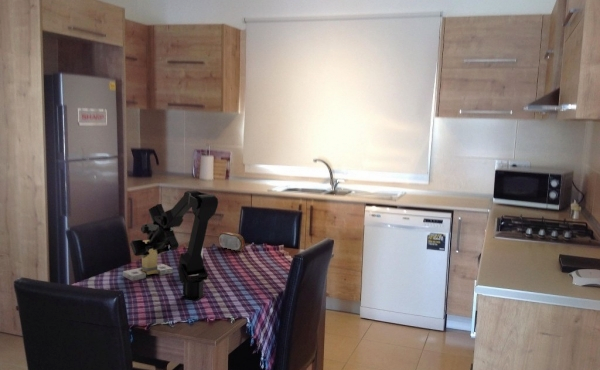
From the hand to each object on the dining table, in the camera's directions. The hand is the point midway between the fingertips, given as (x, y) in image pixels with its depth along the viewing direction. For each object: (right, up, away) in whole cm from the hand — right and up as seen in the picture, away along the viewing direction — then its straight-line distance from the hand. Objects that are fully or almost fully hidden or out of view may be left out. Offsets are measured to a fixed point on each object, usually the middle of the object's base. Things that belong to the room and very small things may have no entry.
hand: (147, 255), depth 215 cm
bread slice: (+28, -3, +46) cm, 54 cm away
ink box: (+18, -8, +5) cm, 21 cm away
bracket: (0, -8, +1) cm, 8 cm away
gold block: (+1, -7, 0) cm, 7 cm away
